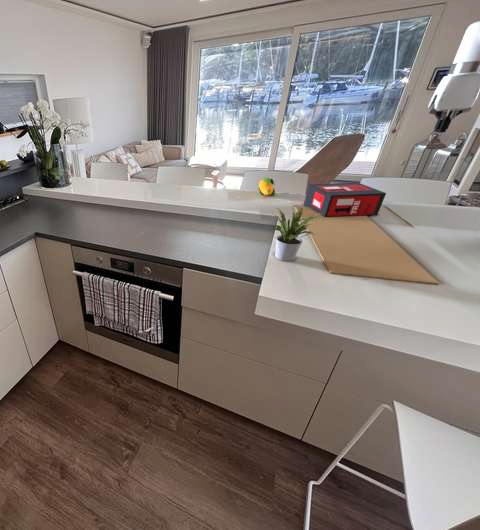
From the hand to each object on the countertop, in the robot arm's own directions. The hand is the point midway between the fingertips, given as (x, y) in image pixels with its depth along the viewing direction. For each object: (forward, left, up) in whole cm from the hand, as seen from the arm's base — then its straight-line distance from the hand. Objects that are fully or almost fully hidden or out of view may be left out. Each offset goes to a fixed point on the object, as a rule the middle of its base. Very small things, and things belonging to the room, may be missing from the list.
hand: (439, 132), depth 100 cm
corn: (+49, -19, -30) cm, 60 cm away
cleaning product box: (+13, -2, -25) cm, 28 cm away
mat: (+26, +28, -30) cm, 49 cm away
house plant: (+48, +51, -30) cm, 77 cm away
